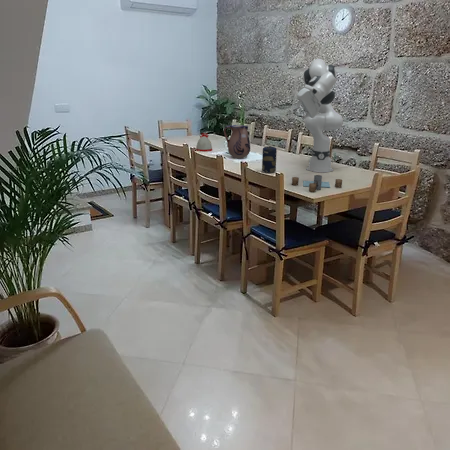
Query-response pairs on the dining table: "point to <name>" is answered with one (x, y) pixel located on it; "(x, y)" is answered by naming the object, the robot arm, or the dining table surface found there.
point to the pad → (306, 183)
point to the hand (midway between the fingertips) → (299, 113)
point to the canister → (269, 159)
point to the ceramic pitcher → (238, 141)
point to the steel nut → (318, 181)
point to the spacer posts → (313, 186)
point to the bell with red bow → (204, 143)
